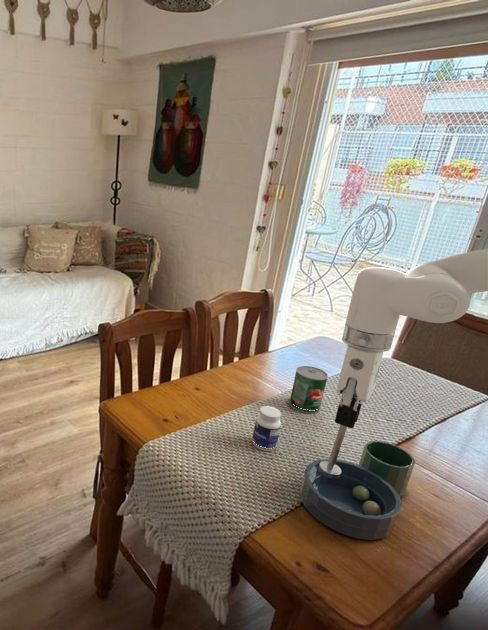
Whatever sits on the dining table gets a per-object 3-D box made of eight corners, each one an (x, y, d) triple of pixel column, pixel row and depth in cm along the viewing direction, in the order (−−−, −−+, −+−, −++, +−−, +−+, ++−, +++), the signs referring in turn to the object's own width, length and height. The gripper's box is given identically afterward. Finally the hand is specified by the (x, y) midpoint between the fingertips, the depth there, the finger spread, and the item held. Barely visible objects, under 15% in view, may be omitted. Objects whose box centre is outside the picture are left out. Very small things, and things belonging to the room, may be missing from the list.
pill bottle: (246, 440, 112) (252, 407, 108) (264, 435, 114) (270, 402, 110) (263, 454, 107) (270, 419, 103) (281, 449, 109) (288, 415, 105)
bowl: (398, 507, 91) (406, 484, 89) (384, 558, 80) (393, 534, 78) (312, 470, 102) (317, 448, 100) (288, 510, 90) (293, 487, 88)
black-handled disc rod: (342, 472, 91) (366, 397, 84) (337, 482, 88) (362, 406, 81) (321, 462, 94) (343, 389, 87) (315, 472, 91) (338, 397, 84)
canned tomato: (317, 417, 122) (326, 382, 118) (287, 408, 126) (294, 374, 122) (321, 404, 128) (329, 370, 124) (291, 395, 132) (298, 363, 128)
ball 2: (378, 513, 89) (382, 521, 86) (361, 511, 90) (364, 518, 87) (378, 499, 88) (382, 506, 86) (360, 497, 90) (364, 504, 87)
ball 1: (365, 482, 93) (352, 488, 94) (360, 484, 91) (347, 490, 92) (375, 496, 91) (361, 502, 93) (370, 498, 89) (357, 504, 91)
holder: (407, 482, 98) (417, 453, 95) (400, 504, 92) (411, 474, 89) (360, 463, 104) (369, 435, 101) (351, 483, 98) (360, 454, 95)
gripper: (384, 356, 72) (358, 449, 78) (399, 328, 83) (376, 412, 89) (332, 344, 77) (312, 432, 83) (353, 319, 87) (334, 399, 94)
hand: (345, 421), depth 86 cm, fingers closed on black-handled disc rod, 2 cm apart
